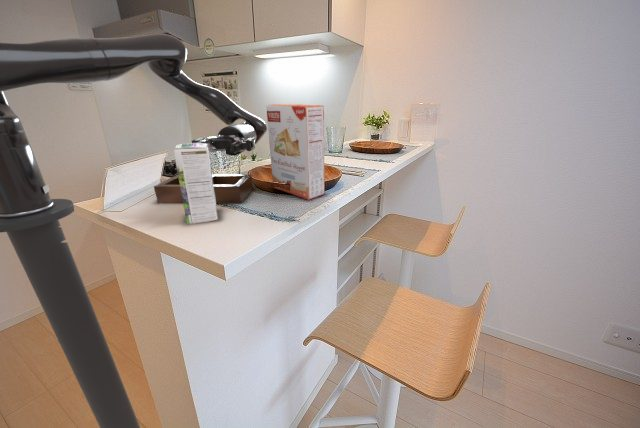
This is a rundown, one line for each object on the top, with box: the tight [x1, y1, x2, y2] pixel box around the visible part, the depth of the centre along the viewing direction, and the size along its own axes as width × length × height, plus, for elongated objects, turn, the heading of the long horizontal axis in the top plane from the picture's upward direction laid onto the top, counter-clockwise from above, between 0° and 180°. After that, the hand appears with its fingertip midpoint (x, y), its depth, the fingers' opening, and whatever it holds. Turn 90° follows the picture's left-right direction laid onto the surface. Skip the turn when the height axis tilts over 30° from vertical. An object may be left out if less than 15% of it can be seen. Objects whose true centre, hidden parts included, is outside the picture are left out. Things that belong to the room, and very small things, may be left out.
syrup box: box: [173, 142, 219, 225], centre depth 55 cm, size 6×6×14 cm
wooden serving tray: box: [153, 174, 254, 204], centre depth 70 cm, size 20×11×4 cm, turn 88°
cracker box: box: [265, 103, 326, 201], centre depth 69 cm, size 14×6×21 cm, turn 45°
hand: (213, 149), depth 63 cm, fingers open, 8 cm apart
